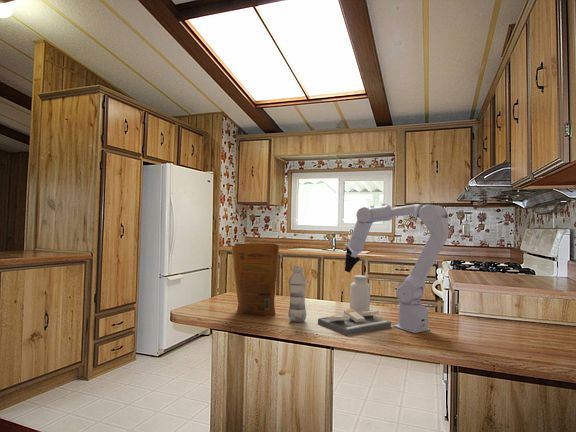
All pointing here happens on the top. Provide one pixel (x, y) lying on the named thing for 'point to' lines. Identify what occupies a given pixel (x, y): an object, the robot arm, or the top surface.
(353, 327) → the panel
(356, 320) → the paddle middle
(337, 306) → the top surface
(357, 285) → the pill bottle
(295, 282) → the plastic bottle
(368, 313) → the paddle
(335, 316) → the paddle
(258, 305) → the pancake mix bag
